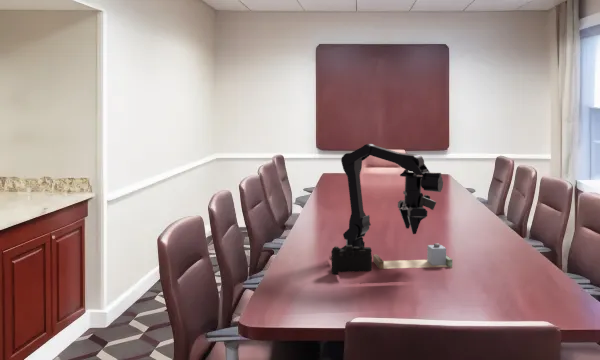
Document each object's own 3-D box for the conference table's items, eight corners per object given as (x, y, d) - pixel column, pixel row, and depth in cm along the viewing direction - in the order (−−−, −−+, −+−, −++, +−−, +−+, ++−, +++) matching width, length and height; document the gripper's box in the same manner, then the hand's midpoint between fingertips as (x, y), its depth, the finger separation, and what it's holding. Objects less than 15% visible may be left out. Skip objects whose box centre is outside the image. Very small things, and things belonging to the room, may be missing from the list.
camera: (367, 266, 200) (368, 239, 199) (372, 274, 190) (373, 246, 188) (329, 267, 200) (329, 239, 198) (332, 275, 189) (332, 246, 188)
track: (379, 271, 193) (379, 261, 193) (373, 263, 203) (373, 254, 203) (452, 269, 195) (452, 259, 195) (442, 261, 205) (442, 252, 205)
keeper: (432, 265, 197) (432, 246, 196) (427, 261, 202) (427, 242, 201) (445, 264, 197) (446, 245, 196) (440, 260, 203) (441, 242, 202)
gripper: (442, 193, 194) (440, 237, 196) (426, 185, 213) (424, 225, 215) (411, 193, 194) (409, 237, 196) (398, 185, 212) (396, 225, 214)
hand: (410, 231), depth 205 cm, fingers open, 9 cm apart
